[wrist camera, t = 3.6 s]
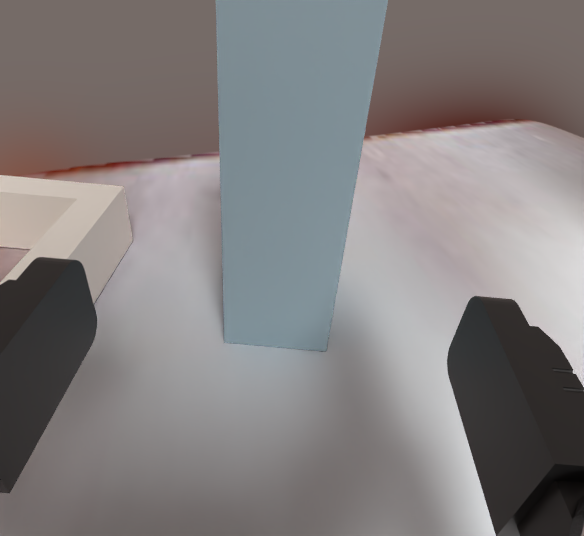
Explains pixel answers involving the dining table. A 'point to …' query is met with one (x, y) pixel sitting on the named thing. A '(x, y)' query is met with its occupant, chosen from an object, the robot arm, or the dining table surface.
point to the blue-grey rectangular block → (290, 158)
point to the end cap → (65, 224)
